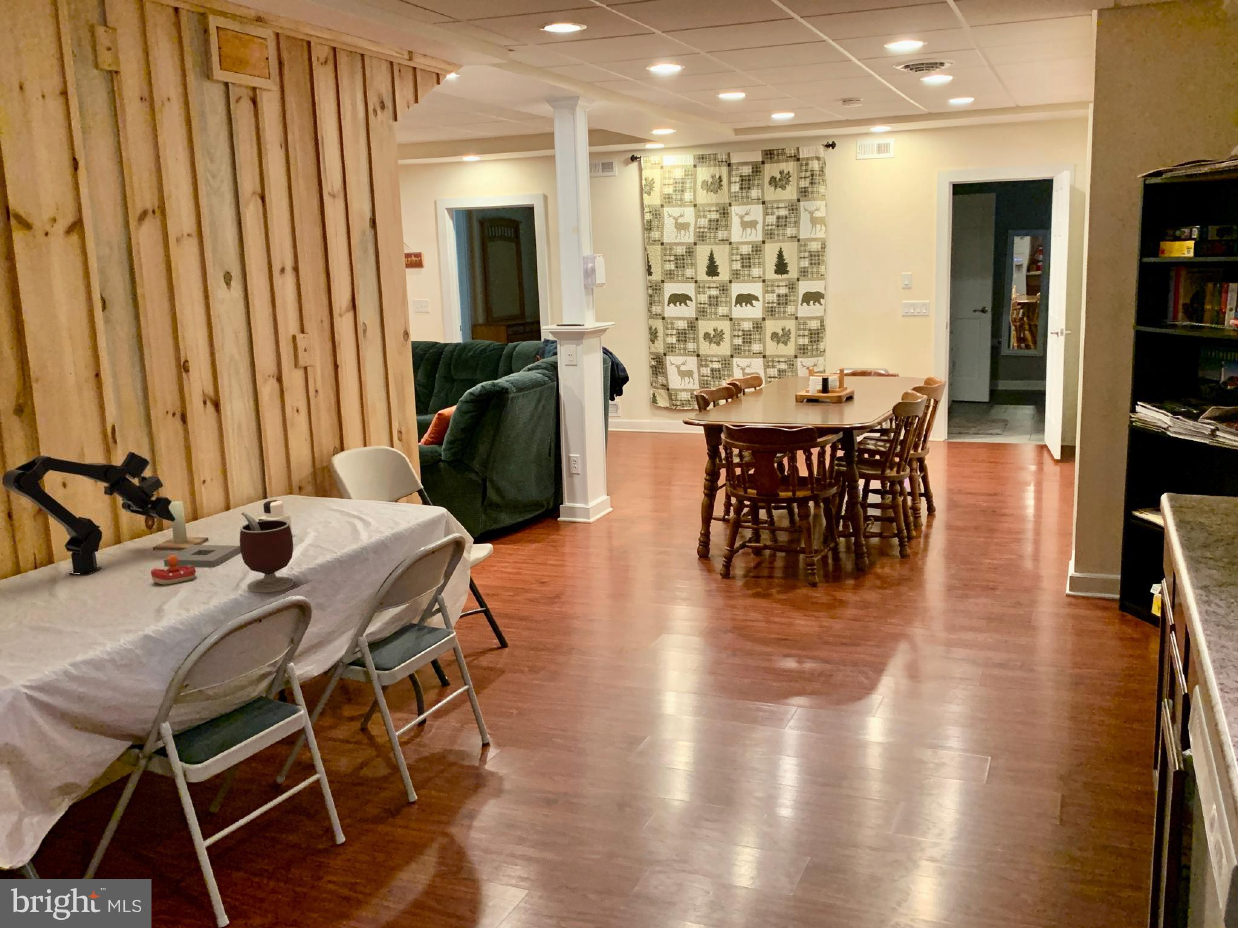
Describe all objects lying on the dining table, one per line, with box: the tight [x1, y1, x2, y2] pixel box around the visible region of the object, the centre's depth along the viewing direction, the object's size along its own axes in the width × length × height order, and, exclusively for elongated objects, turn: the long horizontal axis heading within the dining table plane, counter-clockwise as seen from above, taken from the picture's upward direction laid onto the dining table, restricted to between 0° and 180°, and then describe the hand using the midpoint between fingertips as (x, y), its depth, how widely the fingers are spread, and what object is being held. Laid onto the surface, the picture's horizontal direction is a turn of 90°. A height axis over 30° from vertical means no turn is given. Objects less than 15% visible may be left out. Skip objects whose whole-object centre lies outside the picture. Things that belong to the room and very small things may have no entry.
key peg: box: [169, 500, 188, 544], centre depth 339 cm, size 4×4×13 cm
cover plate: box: [163, 544, 241, 568], centre depth 325 cm, size 16×16×2 cm
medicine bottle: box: [258, 499, 293, 534], centre depth 346 cm, size 7×7×12 cm
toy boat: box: [150, 554, 197, 586], centre depth 303 cm, size 8×12×8 cm, turn 127°
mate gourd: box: [239, 512, 295, 593], centre depth 295 cm, size 16×14×20 cm
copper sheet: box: [152, 536, 209, 552], centre depth 341 cm, size 12×12×1 cm
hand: (165, 518), depth 336 cm, fingers open, 9 cm apart
